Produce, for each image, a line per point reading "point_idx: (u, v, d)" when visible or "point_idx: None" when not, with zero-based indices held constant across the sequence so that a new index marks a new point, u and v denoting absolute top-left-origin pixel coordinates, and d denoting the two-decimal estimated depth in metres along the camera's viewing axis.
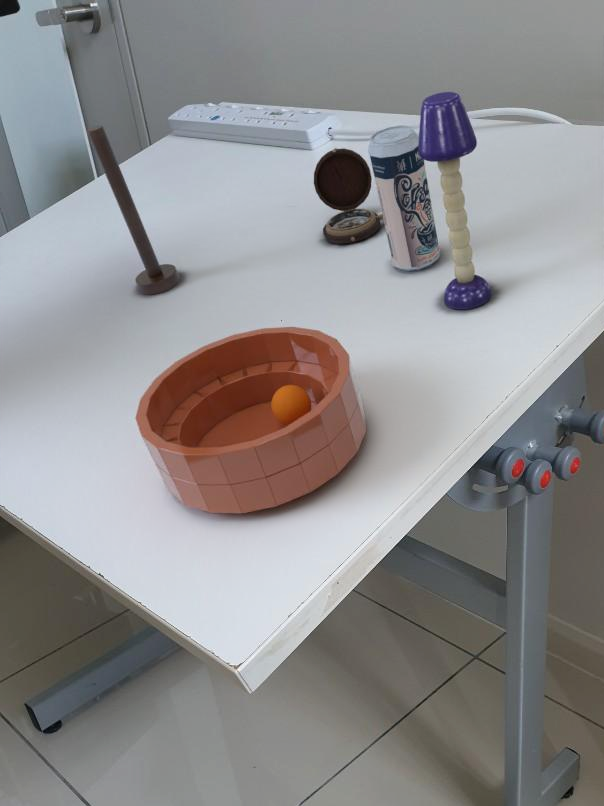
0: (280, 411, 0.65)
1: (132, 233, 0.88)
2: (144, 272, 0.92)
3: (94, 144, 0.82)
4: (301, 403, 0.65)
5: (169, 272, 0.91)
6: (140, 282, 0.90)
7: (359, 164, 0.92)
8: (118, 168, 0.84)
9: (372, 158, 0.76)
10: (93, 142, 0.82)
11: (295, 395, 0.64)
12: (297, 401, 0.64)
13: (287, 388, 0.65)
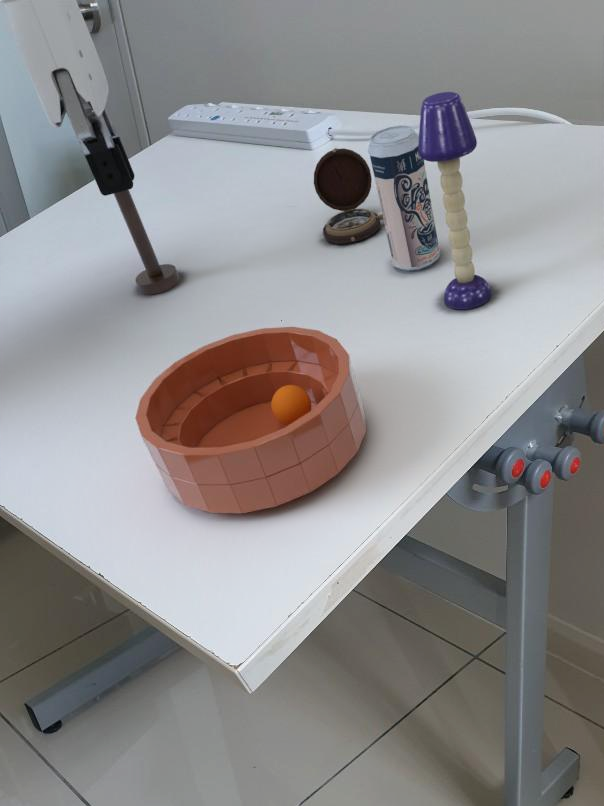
0: (280, 411, 0.65)
1: (132, 233, 0.88)
2: (144, 272, 0.92)
3: None
4: (301, 403, 0.65)
5: (169, 272, 0.91)
6: (140, 282, 0.90)
7: (359, 164, 0.92)
8: None
9: (372, 158, 0.76)
10: None
11: (295, 395, 0.64)
12: (297, 401, 0.64)
13: (287, 388, 0.65)
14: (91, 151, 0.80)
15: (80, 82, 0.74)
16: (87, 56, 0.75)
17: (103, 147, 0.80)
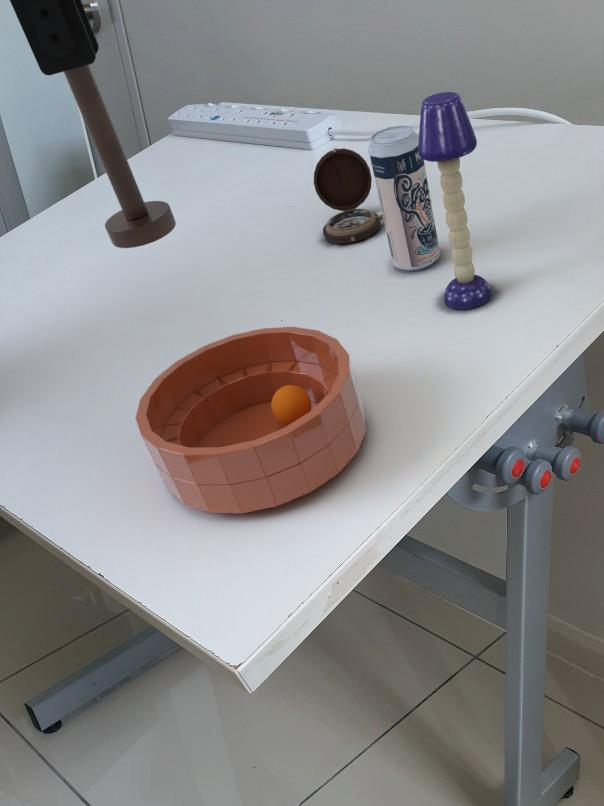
0: (280, 411, 0.65)
1: (98, 144, 0.53)
2: (119, 213, 0.58)
3: None
4: (301, 403, 0.65)
5: (159, 212, 0.57)
6: (112, 228, 0.56)
7: (359, 164, 0.92)
8: None
9: (372, 158, 0.76)
10: None
11: (295, 395, 0.64)
12: (297, 401, 0.64)
13: (287, 388, 0.65)
14: None
15: None
16: None
17: None
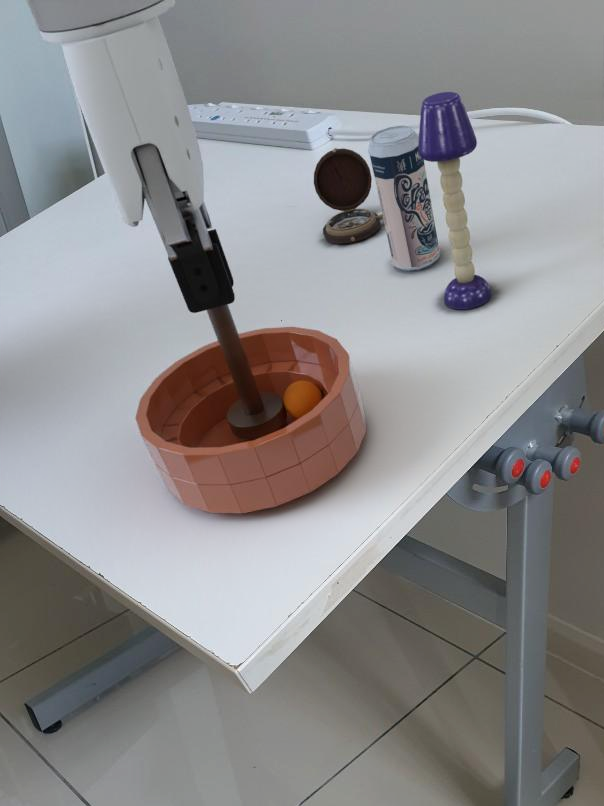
0: (296, 399, 0.64)
1: (228, 359, 0.62)
2: (238, 404, 0.66)
3: None
4: (317, 403, 0.65)
5: (274, 407, 0.65)
6: (234, 422, 0.65)
7: (359, 164, 0.92)
8: None
9: (372, 158, 0.76)
10: None
11: (316, 393, 0.65)
12: (315, 399, 0.65)
13: (310, 383, 0.65)
14: (180, 256, 0.55)
15: (174, 163, 0.49)
16: (184, 122, 0.49)
17: (198, 250, 0.55)
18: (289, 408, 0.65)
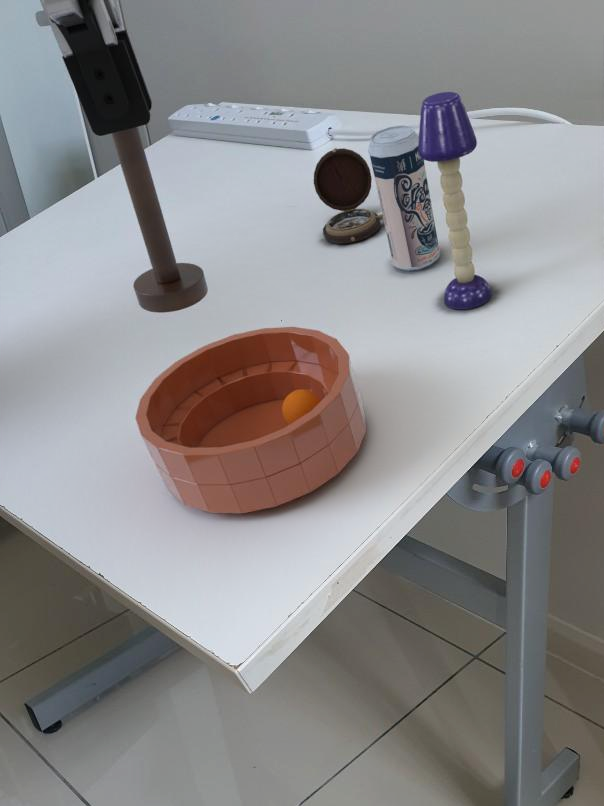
0: (301, 409, 0.64)
1: (137, 206, 0.51)
2: (149, 273, 0.55)
3: None
4: (317, 400, 0.64)
5: (192, 278, 0.54)
6: (142, 290, 0.54)
7: (359, 164, 0.92)
8: None
9: (372, 158, 0.76)
10: None
11: (310, 393, 0.64)
12: (314, 397, 0.64)
13: (298, 390, 0.64)
14: (75, 49, 0.43)
15: None
16: None
17: (97, 42, 0.43)
18: None
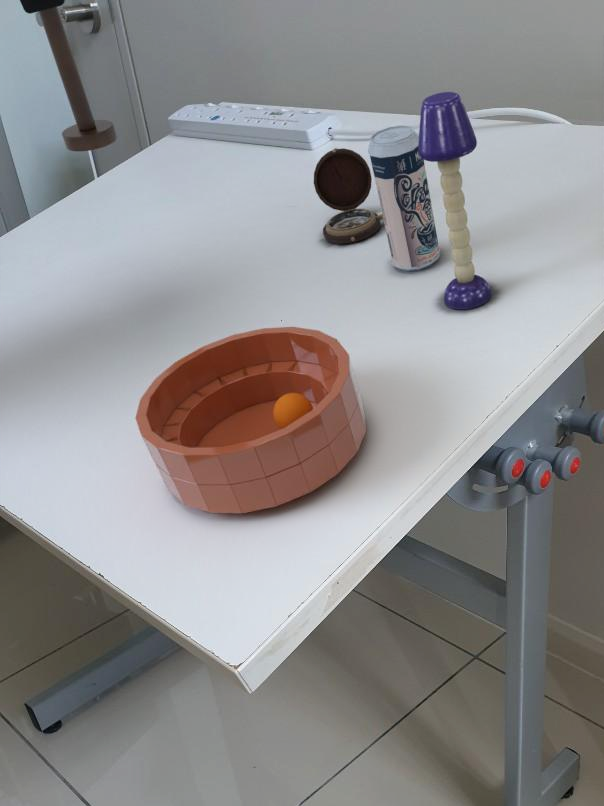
0: (289, 417, 0.64)
1: (60, 69, 0.71)
2: (74, 126, 0.76)
3: None
4: (302, 400, 0.64)
5: (104, 127, 0.75)
6: (67, 135, 0.74)
7: (359, 164, 0.92)
8: None
9: (372, 158, 0.76)
10: None
11: (292, 396, 0.64)
12: (297, 399, 0.64)
13: (281, 397, 0.64)
14: None
15: None
16: None
17: None
18: None
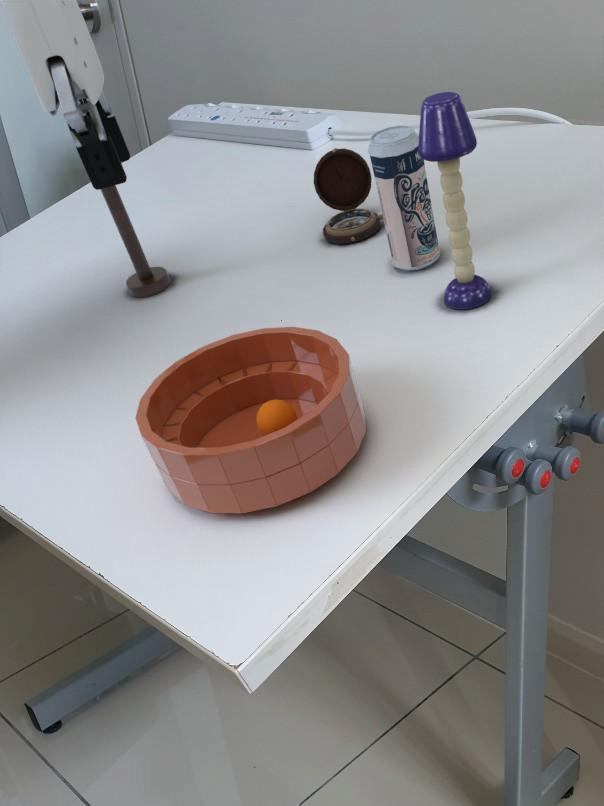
0: (271, 432, 0.64)
1: (122, 236, 0.87)
2: (135, 275, 0.92)
3: None
4: (269, 410, 0.63)
5: (160, 275, 0.91)
6: (130, 285, 0.90)
7: (359, 164, 0.92)
8: None
9: (372, 158, 0.76)
10: None
11: (261, 412, 0.64)
12: (265, 413, 0.63)
13: None
14: (83, 143, 0.78)
15: (75, 70, 0.74)
16: (82, 43, 0.74)
17: (95, 139, 0.78)
18: None
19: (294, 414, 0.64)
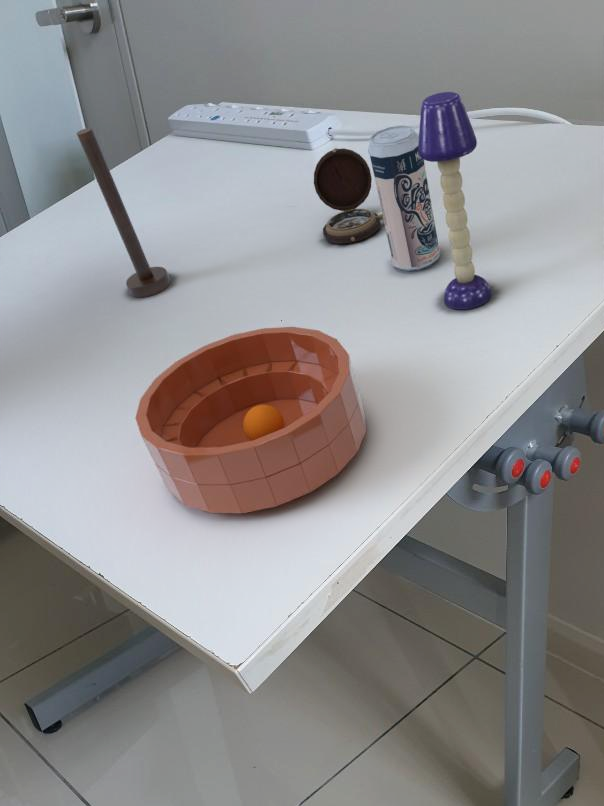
0: None
1: (122, 236, 0.87)
2: (135, 275, 0.92)
3: (83, 147, 0.82)
4: (248, 425, 0.63)
5: (160, 275, 0.91)
6: (130, 285, 0.90)
7: (359, 164, 0.92)
8: (108, 171, 0.84)
9: (372, 158, 0.76)
10: (82, 145, 0.82)
11: (244, 430, 0.64)
12: (247, 429, 0.64)
13: None
14: None
15: None
16: None
17: None
18: None
19: (272, 413, 0.63)
